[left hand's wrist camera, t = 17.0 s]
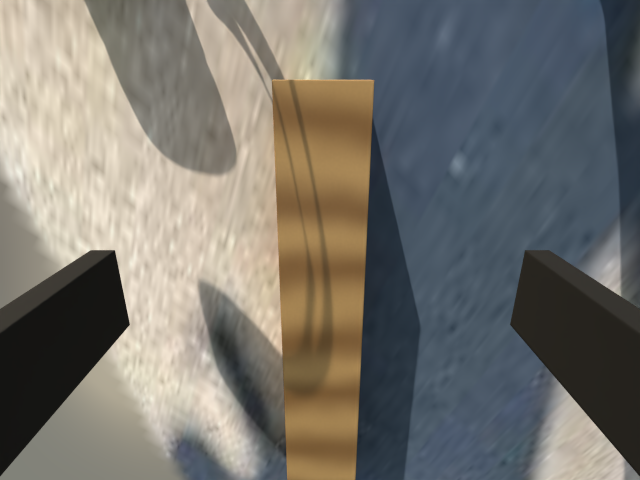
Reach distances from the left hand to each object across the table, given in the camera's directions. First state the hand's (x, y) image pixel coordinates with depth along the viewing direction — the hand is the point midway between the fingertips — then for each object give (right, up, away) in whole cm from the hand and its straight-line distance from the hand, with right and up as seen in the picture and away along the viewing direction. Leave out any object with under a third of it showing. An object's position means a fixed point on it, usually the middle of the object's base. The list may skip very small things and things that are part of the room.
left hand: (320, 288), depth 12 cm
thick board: (0, -7, +36) cm, 36 cm away
